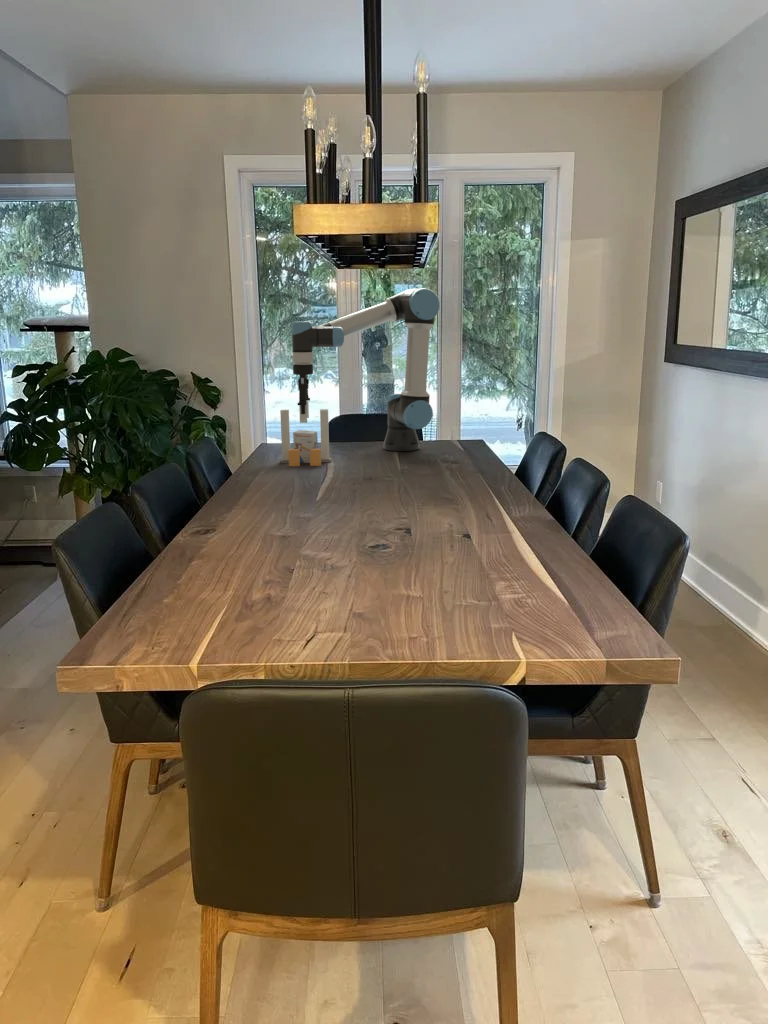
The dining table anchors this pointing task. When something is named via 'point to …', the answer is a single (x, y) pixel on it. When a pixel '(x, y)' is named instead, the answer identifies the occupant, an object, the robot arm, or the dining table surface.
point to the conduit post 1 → (285, 435)
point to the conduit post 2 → (324, 435)
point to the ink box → (305, 443)
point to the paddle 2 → (315, 457)
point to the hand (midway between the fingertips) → (304, 420)
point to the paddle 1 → (294, 457)
